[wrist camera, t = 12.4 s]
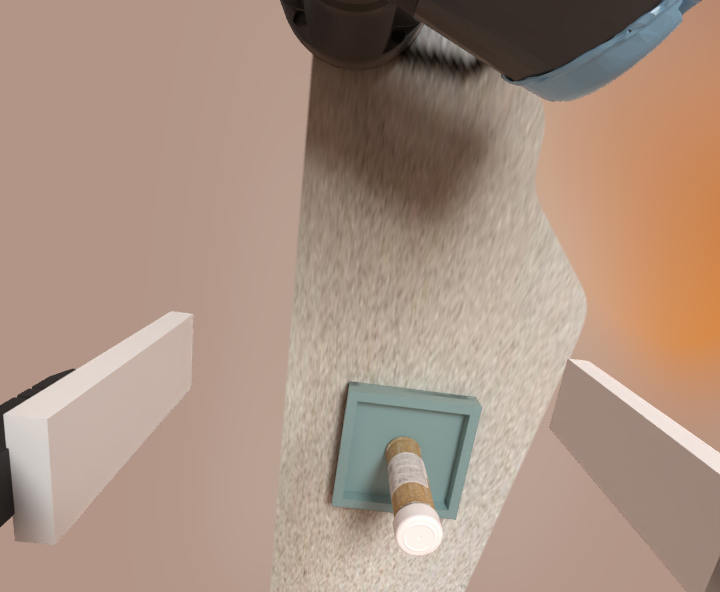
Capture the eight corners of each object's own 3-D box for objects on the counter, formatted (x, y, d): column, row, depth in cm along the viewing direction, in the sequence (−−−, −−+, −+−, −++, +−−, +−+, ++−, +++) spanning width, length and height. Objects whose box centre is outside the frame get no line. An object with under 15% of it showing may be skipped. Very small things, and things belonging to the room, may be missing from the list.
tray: (349, 381, 49) (348, 390, 47) (475, 397, 50) (482, 407, 47) (332, 491, 53) (331, 505, 50) (451, 505, 54) (455, 519, 51)
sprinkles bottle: (412, 470, 51) (432, 563, 38) (379, 459, 51) (387, 550, 38) (426, 441, 50) (451, 526, 37) (392, 429, 50) (405, 511, 37)
